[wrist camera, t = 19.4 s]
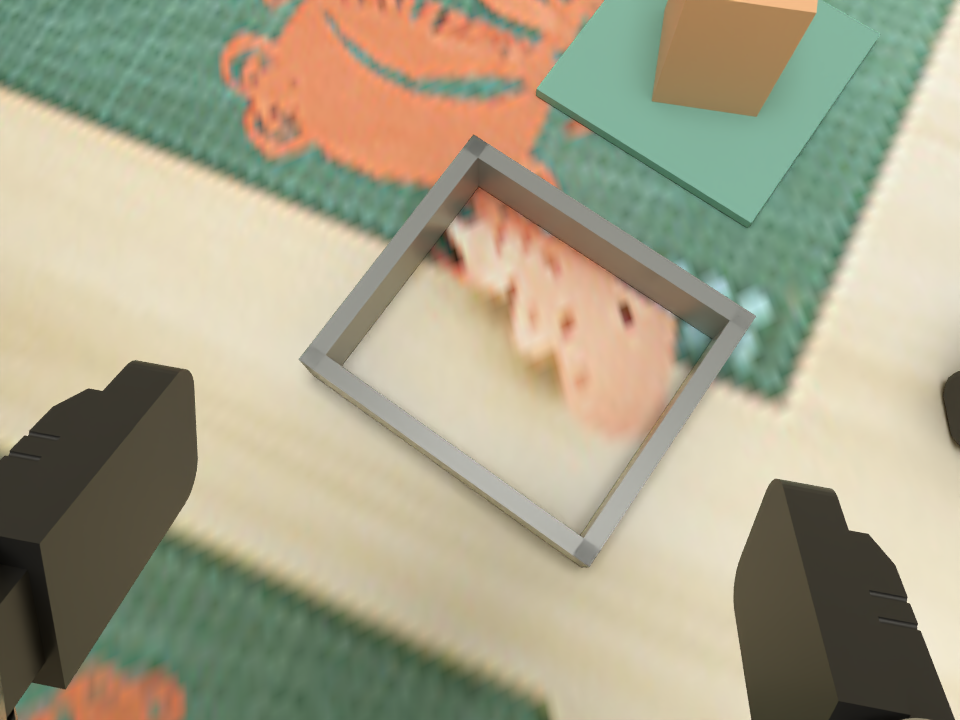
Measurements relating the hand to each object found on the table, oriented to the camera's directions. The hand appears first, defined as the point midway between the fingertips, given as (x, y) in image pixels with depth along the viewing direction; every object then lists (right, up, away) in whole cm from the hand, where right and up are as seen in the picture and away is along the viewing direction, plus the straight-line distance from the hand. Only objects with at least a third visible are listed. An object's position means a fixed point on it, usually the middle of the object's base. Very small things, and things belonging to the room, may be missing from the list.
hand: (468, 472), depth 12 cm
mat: (+11, +16, +31) cm, 37 cm away
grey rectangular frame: (+2, +2, +28) cm, 28 cm away
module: (+11, +16, +30) cm, 36 cm away
